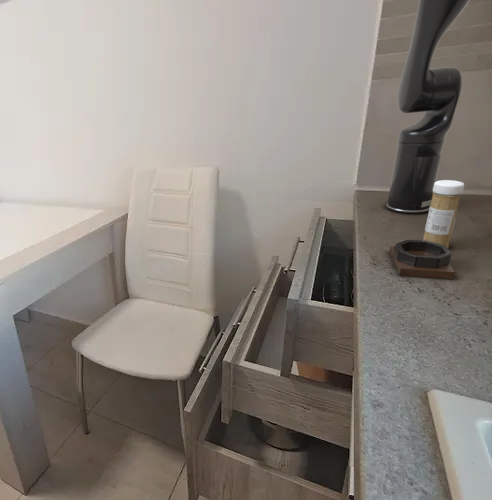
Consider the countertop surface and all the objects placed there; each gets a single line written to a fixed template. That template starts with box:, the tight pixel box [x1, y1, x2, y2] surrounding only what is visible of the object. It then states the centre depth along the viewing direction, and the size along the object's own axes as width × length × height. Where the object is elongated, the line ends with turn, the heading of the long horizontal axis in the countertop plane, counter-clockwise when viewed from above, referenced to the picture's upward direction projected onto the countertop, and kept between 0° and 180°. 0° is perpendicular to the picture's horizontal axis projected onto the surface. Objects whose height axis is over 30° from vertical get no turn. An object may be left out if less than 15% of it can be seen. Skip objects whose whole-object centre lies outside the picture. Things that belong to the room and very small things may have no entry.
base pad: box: [389, 239, 456, 280], centre depth 69 cm, size 10×8×4 cm
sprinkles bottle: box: [422, 179, 465, 249], centre depth 73 cm, size 5×5×13 cm
